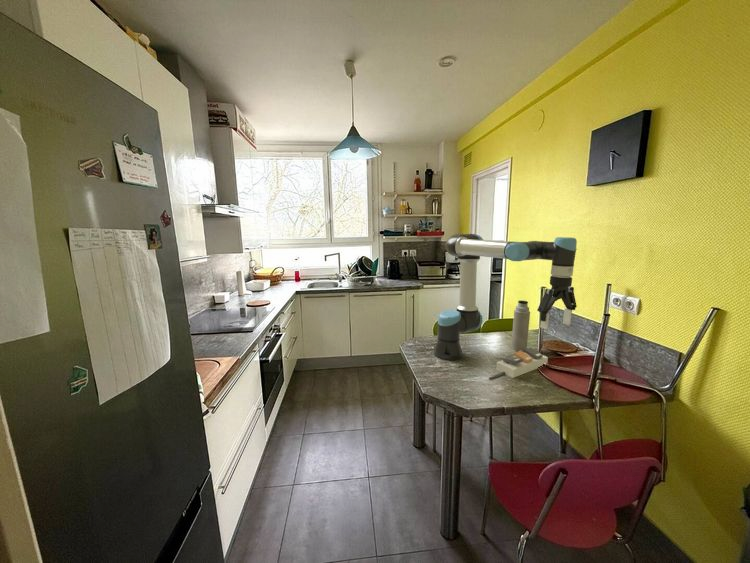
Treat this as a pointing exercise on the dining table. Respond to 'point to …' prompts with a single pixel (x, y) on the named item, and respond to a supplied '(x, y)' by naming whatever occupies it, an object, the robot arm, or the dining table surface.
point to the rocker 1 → (512, 360)
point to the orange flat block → (523, 356)
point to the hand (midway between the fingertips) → (555, 326)
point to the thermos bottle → (520, 326)
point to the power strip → (519, 367)
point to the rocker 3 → (533, 353)
